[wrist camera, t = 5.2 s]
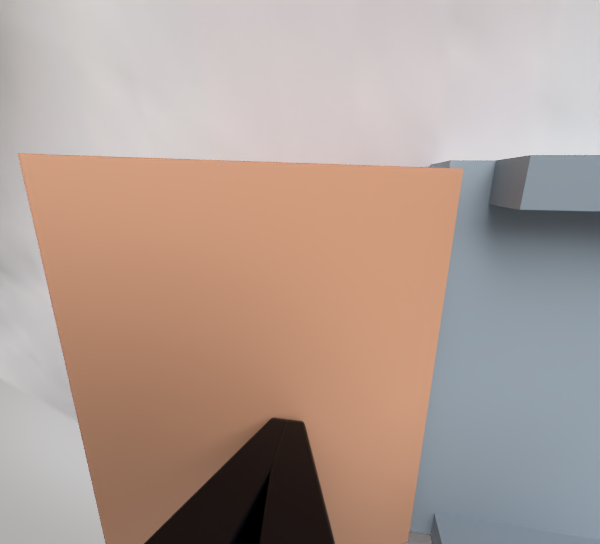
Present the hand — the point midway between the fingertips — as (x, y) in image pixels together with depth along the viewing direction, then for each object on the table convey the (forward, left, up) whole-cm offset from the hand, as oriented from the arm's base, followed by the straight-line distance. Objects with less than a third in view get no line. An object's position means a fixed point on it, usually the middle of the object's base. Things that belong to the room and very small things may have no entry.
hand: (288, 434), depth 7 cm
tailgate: (-3, 0, -3) cm, 4 cm away
